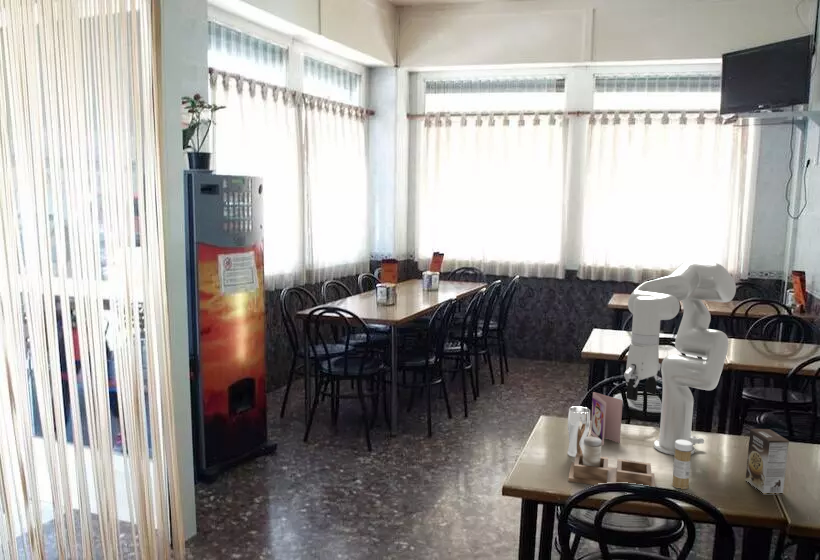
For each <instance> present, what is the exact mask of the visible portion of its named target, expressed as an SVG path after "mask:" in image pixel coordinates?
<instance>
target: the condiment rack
mask: <svg viewBox="0 0 820 560" xmlns="http://www.w3.org/2000/svg"><path fill="white" fill-rule="evenodd" d="M601 442H602V441H601V439H599V438H596V437H594V436H588V437H585V438H584V448H583V454H577V453H576V458H574V462H573V461H571V464H570V469H569V473H568V479H567V480H568V482H571V483H578V484H579V483H580V484H584V485H585V484H586V485H593V486H595V485H594V484H598V483H607V482H628V483H636V484H643V485H649V486H656V479H655V473H652V465H651V464H652V463H650V462H643V461H635V460H627V459H619V458H617V459H616V461H617V462H616V467H610V466H609V457H606V456H601V455H602V444H601Z"/></svg>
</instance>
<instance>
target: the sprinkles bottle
mask: <svg viewBox="0 0 820 560" xmlns="http://www.w3.org/2000/svg"><path fill="white" fill-rule="evenodd" d="M691 451H692V443H691V442H690V441H687V440H676V441H675V455H674V459H673V460H674V461H673V469H672V476H673V477H672V483H671V485H672V486H673V487H674V488H676V489H678V488H681V489H680V490H688V489H689V487H690V486H689V484H690V483H689V482H690V475H691V473H690V472H691V461H692V460H691V457H692V456H691Z"/></svg>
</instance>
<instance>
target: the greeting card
mask: <svg viewBox="0 0 820 560" xmlns="http://www.w3.org/2000/svg"><path fill="white" fill-rule="evenodd" d="M591 399H592V400H591V401H592V403H591V405H592V406H591V417H590V435H592V437H596V438H599V439H601V441H602V442H601V446H603V447H604V445H605V443H604V442H605V438H607V439H606V440H608V439H609V441H611V440H612V442H614V441H615V443H617V442H618V444H621V434H622V433H621V432H622V431H621V429H622V416H623V402H624V400H623V399H620V398H616V397H612V396H608V395H605V394H602V393H599V392H595V391H593V392H592V397H591Z"/></svg>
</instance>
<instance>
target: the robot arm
mask: <svg viewBox="0 0 820 560" xmlns="http://www.w3.org/2000/svg"><path fill="white" fill-rule="evenodd" d="M736 291H737V287H736V282H735V279H734V278H733V276H732V275H731V274H730V272H729V271H728V269H727V268H725V266H723V265H722V264H720V263H716V262H708V261H707V262H706V261H697V260H688V261H683V262H682V263H681V264H680V265H679V266H678V267H677V268H675V269H674V270H673V271H672V272H671V273H670V274H669V275H667V276H663V277H660V278H656V279H651V280H649V281H644V282H643V283H642V284H640V285H638V286H637V287H636V288H635V289H634V290H633V291H632V292H631V294H630V295H629V298H628V301H627V309H628V310H629V312H630V313H631V314H632V325H631V341H630V344H629V348H628V353H627V359H626V369H625V372H624V373H623V375H624V380H625V385H626V396H625V397H626V399H628V400H631V401H635V402H636V401H638V393H639V387H638V384H639V383H640V381H641V380H645V390H644V391H645V393H647V394H650V395H656V394H657V384H658V382H657V381H658V380H659V375H660V373H661V379H662V380H661V381H662V398H661V410H660V411H661V412H660V426H659V438H658V439H656V440H654V441H653V447H654V448H655V450H657V451H658V452H661V453H663V454H667V455H670V456H675V441H676V440H687V441H690V442H691V443H692V451H691V455H694V453H695V451H696V448H695V445H697V444H699V445H702V444H704V443H705V439H704V437H697V438H696V435H692V425H693V424H692V423H693V413H694V412H693V411H694V396H693V393H692V391H691V389H690V388H694V389H698V390H703V391H704V390H705V391H713V390H714V389H716V388H717V386H718V384H719V381H720V378H721V374H722V372H723V369H724V366H725V365H724V364H725V361H726V358H727V356H728V351H729V338H728V336H727V334H726V333H725V332H723V331H721V330H718V329H711V328H710V323H711V321H712V320H711V319H712V318H711V317H712V316H711V313H710V311H709V309H708V308H707V306H706V305H705V304H704V302H703V301H709V302H717V303H729V302H731V301H732V300H733V299H734V297H735V296H736V293H737V292H736ZM680 301H681V302H682V305H683V314H682V315H683V316H682V318H681V320H680V324H679V327H678V331H677V334H676V336H675V341H674V342H675V343H674V347H675V349H676V351H678V352H679V353H681V354H676V353H675V354H668V355H667V356H665V357H664V358H663V359H662V361H661V363H660V362H659V361H660V360H659V344H660V332H661V331H660V330H661V321H669V320H672V319H674V318H675V317H676V316H677V315H678V314H679V311H680V310H681V309H680V307H681V306H680V305H681V304H680ZM683 354H684V355H683ZM704 358H705V359H704Z"/></svg>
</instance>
